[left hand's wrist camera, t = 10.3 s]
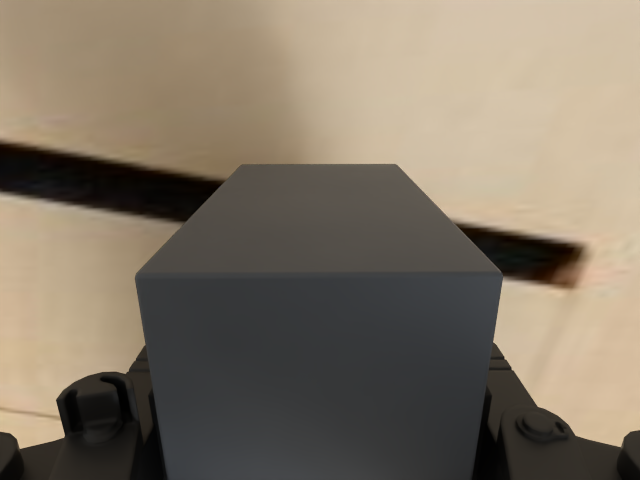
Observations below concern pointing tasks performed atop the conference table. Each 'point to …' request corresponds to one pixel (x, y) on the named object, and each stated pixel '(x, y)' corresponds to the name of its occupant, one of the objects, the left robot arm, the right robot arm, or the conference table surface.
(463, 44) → the conference table surface
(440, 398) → the post
